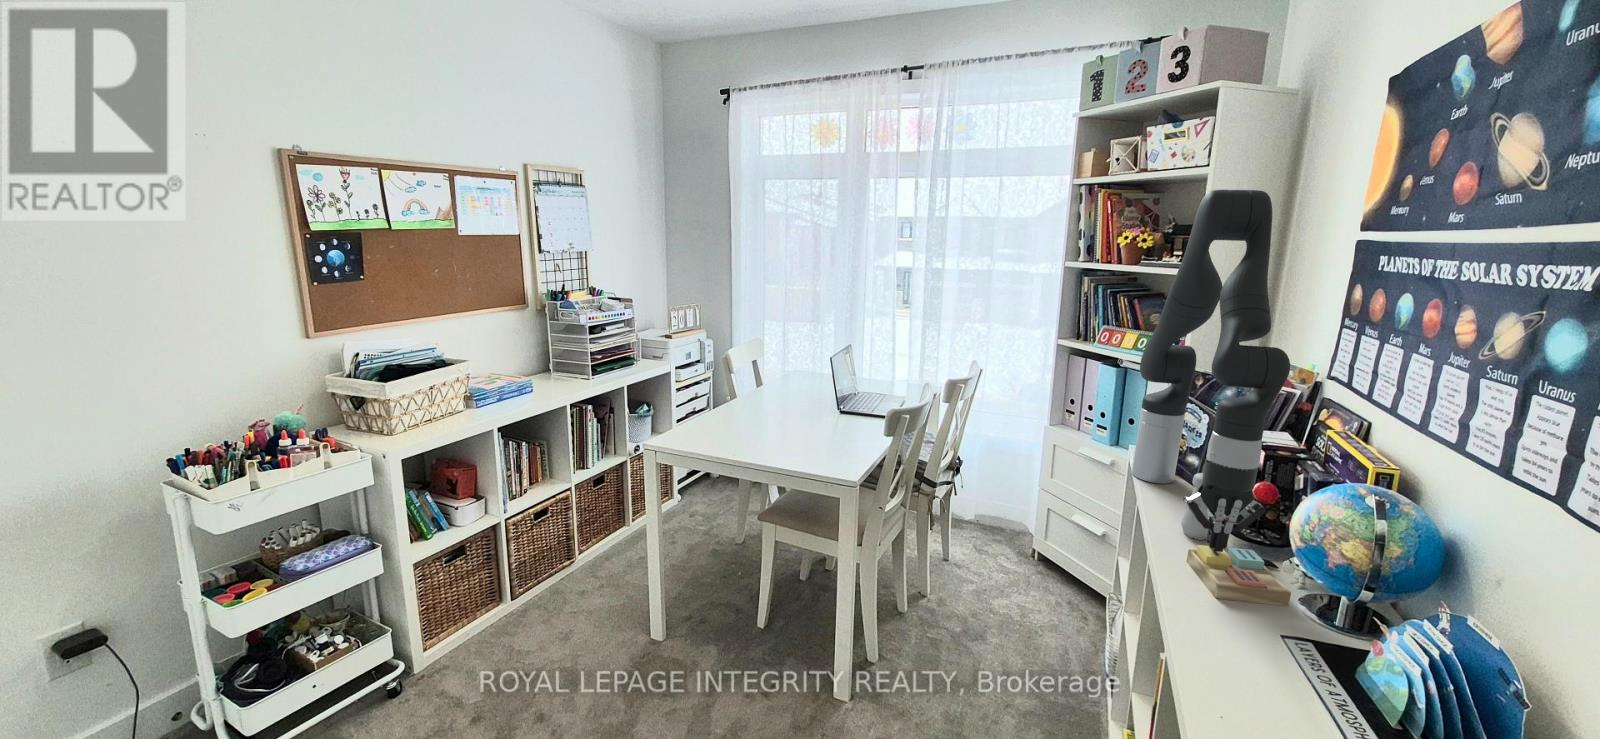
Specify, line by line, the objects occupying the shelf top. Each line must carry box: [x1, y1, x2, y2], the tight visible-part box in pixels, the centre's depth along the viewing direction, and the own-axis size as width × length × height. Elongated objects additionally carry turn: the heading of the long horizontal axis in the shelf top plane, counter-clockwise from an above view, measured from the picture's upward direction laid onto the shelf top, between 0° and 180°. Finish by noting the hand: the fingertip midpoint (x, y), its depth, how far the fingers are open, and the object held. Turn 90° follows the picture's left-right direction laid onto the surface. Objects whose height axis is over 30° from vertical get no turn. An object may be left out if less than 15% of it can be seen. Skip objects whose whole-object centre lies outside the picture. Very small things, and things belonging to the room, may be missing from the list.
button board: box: [1186, 548, 1292, 607], centre depth 110 cm, size 12×11×2 cm
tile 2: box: [1226, 547, 1265, 570], centre depth 112 cm, size 4×4×2 cm
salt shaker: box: [1180, 472, 1208, 541], centre depth 125 cm, size 6×6×13 cm
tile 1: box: [1195, 544, 1232, 567], centre depth 113 cm, size 4×4×2 cm
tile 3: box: [1227, 568, 1265, 588], centre depth 107 cm, size 4×4×2 cm
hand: (1215, 549), depth 112 cm, fingers closed
